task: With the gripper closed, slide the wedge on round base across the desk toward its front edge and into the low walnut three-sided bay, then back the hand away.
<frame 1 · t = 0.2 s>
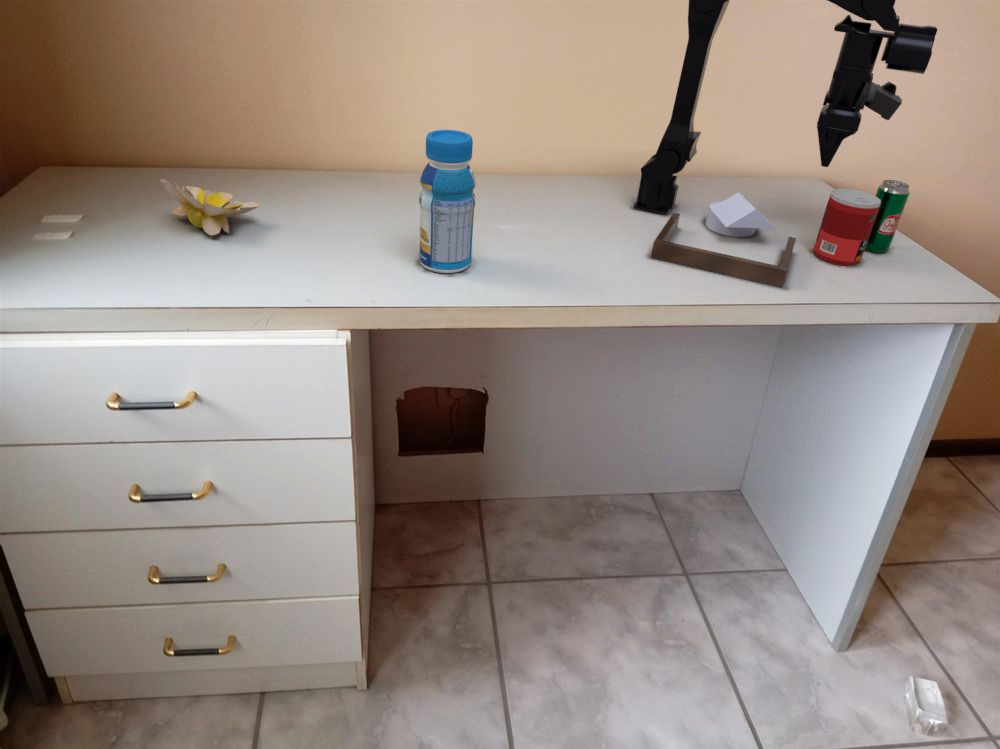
hand: (826, 159, 134), 14 cm above the table, tool pointing down, fingers open, 9 cm apart
beverage bottle: (445, 264, 122), on the table
soda can: (872, 249, 140), on the table
wedge on round base: (733, 232, 142), on the table
decorative flower: (214, 227, 128), on the table
bay: (723, 254, 133), on the table
canned food: (835, 258, 135), on the table
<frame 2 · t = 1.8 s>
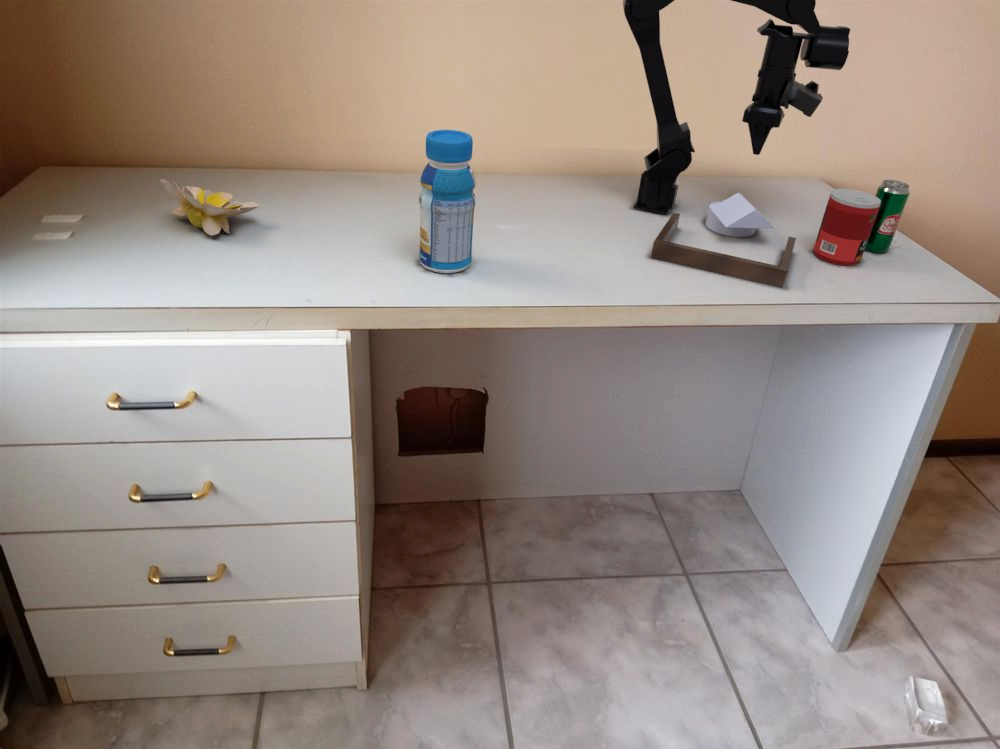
hand: (756, 154, 143), 12 cm above the table, tool pointing down, fingers closed
nothing on the table moved.
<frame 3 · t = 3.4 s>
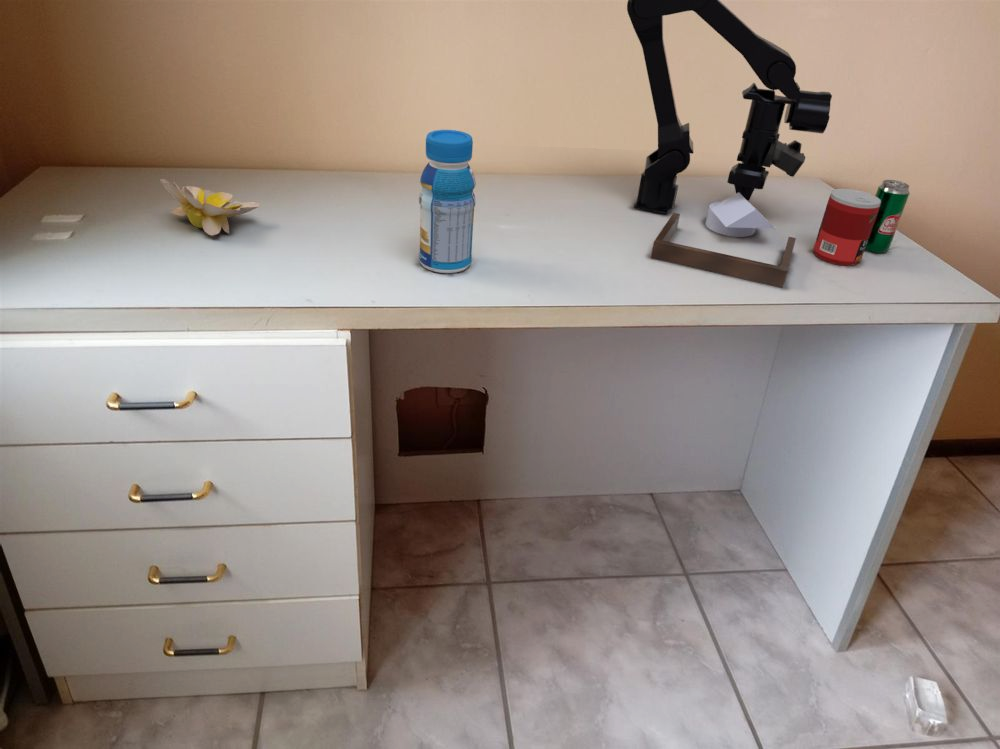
hand: (741, 209, 147), 2 cm above the table, tool pointing down, fingers closed
wedge on round base: (733, 232, 142), on the table, touching gripper
everything else where it was.
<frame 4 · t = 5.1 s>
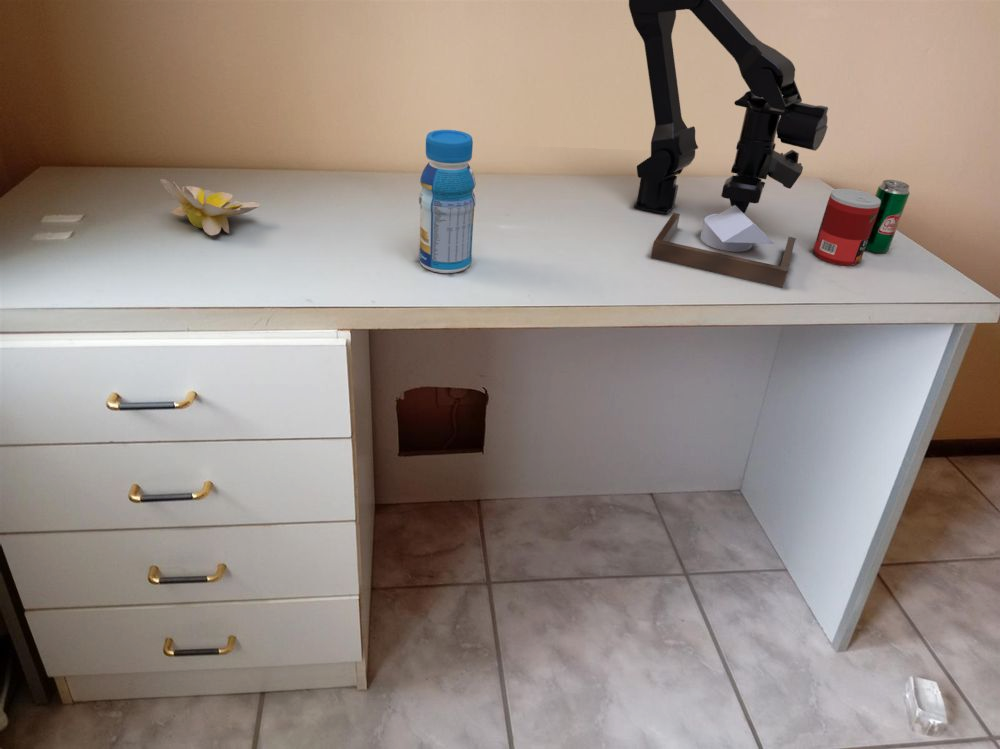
hand: (737, 221, 141), 2 cm above the table, tool pointing down, fingers closed
wedge on round base: (729, 246, 137), on the table, touching gripper
everything else where it was.
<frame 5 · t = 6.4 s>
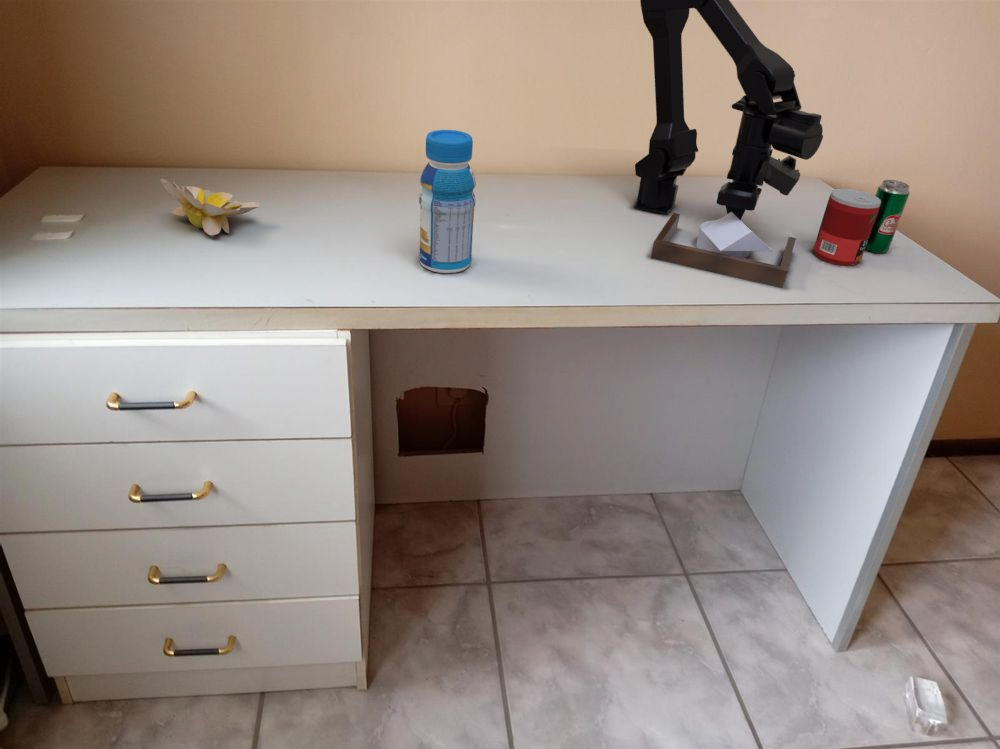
hand: (733, 228, 138), 2 cm above the table, tool pointing down, fingers closed
wedge on round base: (726, 254, 134), on the table, touching gripper
everything else where it was.
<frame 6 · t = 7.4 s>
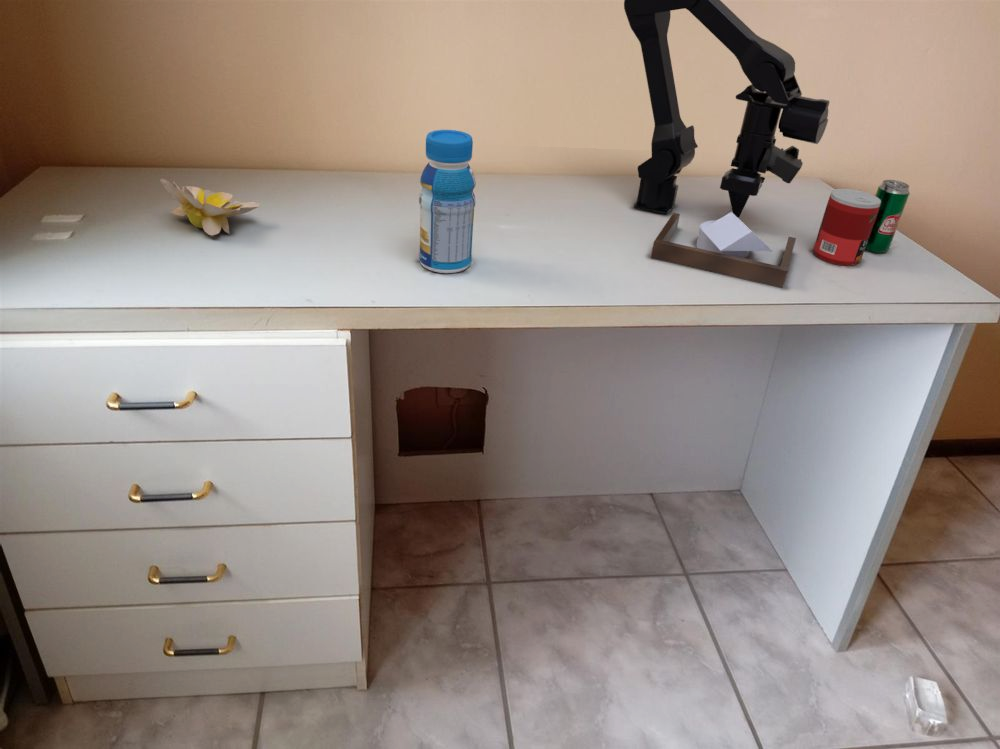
hand: (736, 216, 142), 3 cm above the table, tool pointing down, fingers closed
wedge on round base: (726, 254, 134), on the table
everything else where it was.
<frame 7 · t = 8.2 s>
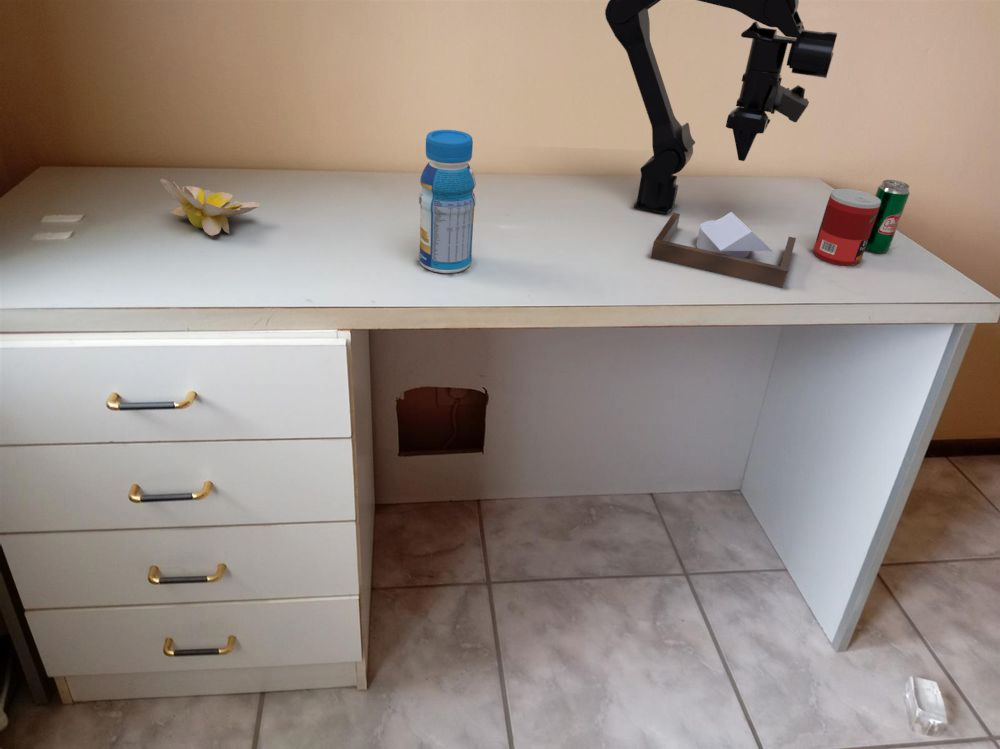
hand: (741, 160, 139), 12 cm above the table, tool pointing down, fingers closed
nothing on the table moved.
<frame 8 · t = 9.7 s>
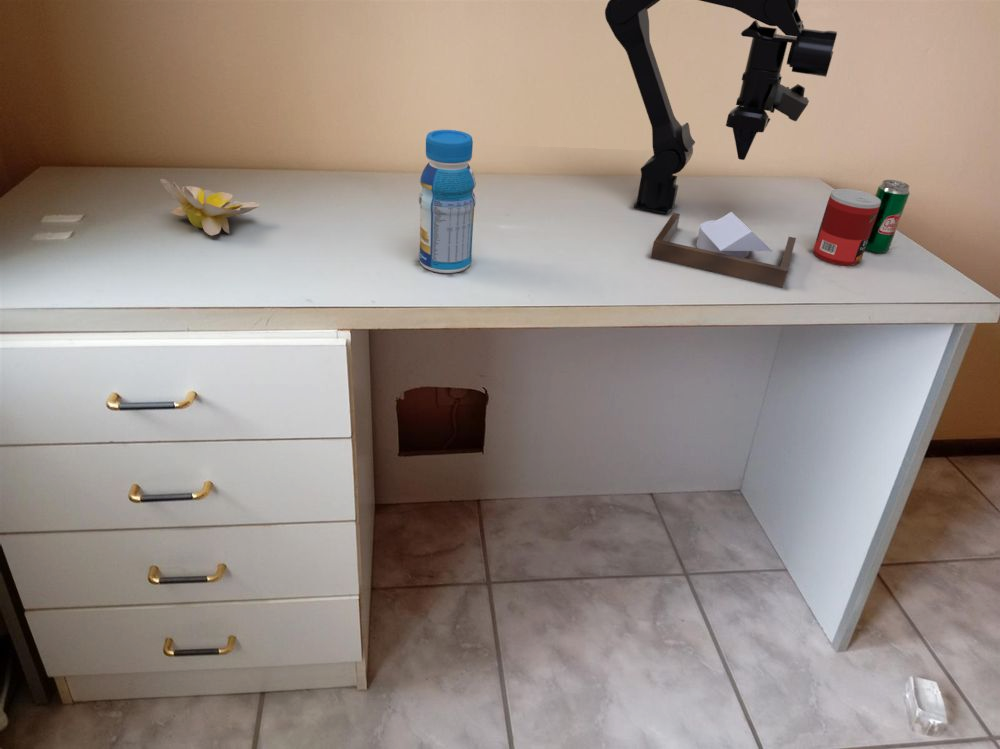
hand: (741, 159, 139), 12 cm above the table, tool pointing down, fingers closed
nothing on the table moved.
at the end: wedge on round base inside the target area on the bay (2.1 cm from its centre), point 0.0 cm above the bay's base; wedge on round base tilted 0° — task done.
